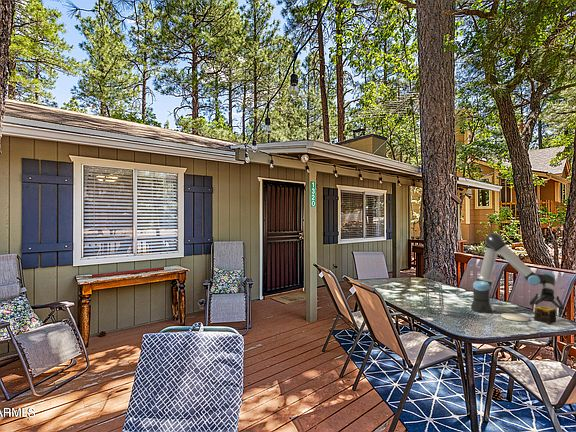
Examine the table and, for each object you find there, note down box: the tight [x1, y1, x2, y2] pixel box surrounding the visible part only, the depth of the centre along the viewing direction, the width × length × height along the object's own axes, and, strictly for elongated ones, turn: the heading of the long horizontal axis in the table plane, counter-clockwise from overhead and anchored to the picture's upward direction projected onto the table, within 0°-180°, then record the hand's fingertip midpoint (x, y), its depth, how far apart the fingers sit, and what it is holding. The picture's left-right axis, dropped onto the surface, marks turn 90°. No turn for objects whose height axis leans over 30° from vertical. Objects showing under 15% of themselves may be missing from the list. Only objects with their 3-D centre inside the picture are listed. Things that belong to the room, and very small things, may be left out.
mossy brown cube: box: [533, 305, 557, 325], centre depth 242 cm, size 10×10×10 cm
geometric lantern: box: [423, 268, 445, 315], centre depth 267 cm, size 16×16×35 cm
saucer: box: [500, 312, 531, 322], centre depth 250 cm, size 18×18×1 cm
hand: (545, 314), depth 241 cm, fingers open, 13 cm apart
